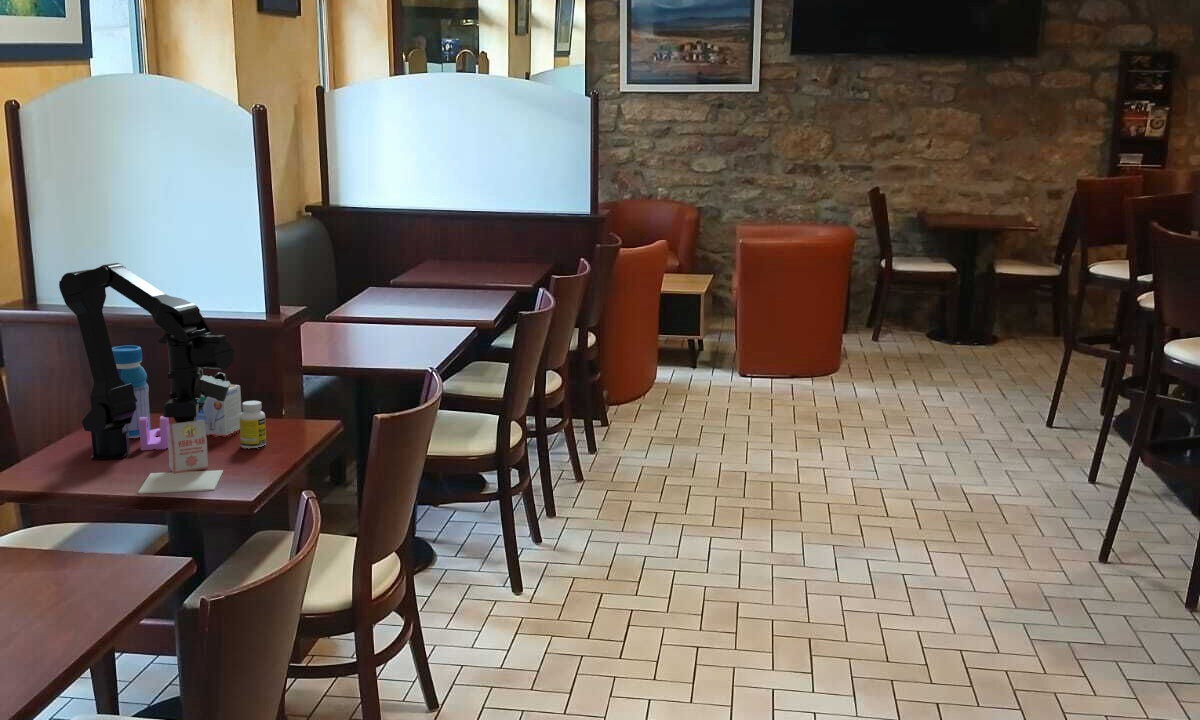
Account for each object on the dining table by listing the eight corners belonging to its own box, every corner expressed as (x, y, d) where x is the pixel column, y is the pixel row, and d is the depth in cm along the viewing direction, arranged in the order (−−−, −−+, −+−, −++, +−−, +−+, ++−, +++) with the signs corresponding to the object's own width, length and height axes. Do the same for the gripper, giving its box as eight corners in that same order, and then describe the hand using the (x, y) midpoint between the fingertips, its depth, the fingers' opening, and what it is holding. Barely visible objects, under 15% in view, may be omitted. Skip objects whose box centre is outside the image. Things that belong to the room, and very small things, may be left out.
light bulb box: (185, 433, 260) (182, 387, 258) (204, 426, 267) (201, 381, 264) (226, 437, 257) (223, 391, 255) (244, 430, 264) (241, 384, 261)
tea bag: (169, 466, 233) (167, 420, 230) (203, 462, 237) (201, 416, 234) (173, 473, 230) (171, 427, 227) (207, 468, 234) (206, 422, 231)
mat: (138, 493, 219) (137, 492, 219) (150, 474, 231) (150, 473, 231) (214, 490, 222) (214, 488, 221) (223, 471, 233) (223, 470, 233)
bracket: (168, 449, 248) (166, 418, 247) (141, 450, 247) (138, 419, 246) (175, 433, 261) (173, 403, 259) (149, 434, 260) (147, 404, 258)
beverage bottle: (143, 440, 255) (136, 352, 250) (105, 439, 255) (97, 351, 250) (157, 429, 263) (151, 344, 259) (120, 429, 263) (114, 344, 259)
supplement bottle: (262, 449, 248) (260, 405, 246) (237, 449, 248) (235, 405, 246) (269, 442, 254) (267, 399, 252) (245, 442, 254) (242, 399, 252)
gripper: (219, 374, 224) (224, 450, 227) (231, 354, 242) (236, 426, 245) (159, 376, 222) (166, 453, 225) (176, 356, 240) (181, 428, 243)
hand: (190, 439), depth 235 cm, fingers closed
